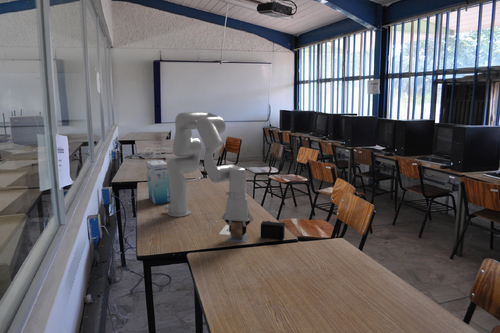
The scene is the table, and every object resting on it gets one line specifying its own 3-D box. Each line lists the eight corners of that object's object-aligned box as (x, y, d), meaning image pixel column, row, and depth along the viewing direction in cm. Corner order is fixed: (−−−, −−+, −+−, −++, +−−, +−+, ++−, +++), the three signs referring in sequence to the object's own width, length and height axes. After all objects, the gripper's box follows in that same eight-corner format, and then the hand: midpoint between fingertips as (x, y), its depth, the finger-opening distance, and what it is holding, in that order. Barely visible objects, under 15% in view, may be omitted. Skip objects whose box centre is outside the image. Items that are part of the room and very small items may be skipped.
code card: (218, 234, 176) (218, 233, 176) (225, 225, 189) (225, 224, 189) (235, 235, 175) (235, 235, 175) (241, 226, 187) (241, 225, 187)
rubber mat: (225, 241, 167) (225, 241, 167) (230, 234, 176) (230, 233, 176) (245, 243, 166) (245, 242, 166) (249, 235, 174) (249, 235, 174)
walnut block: (231, 237, 169) (230, 222, 167) (233, 233, 174) (233, 218, 172) (241, 237, 168) (241, 223, 166) (244, 233, 173) (244, 219, 171)
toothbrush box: (148, 198, 239) (146, 160, 234) (164, 196, 243) (162, 159, 239) (154, 205, 223) (152, 165, 219) (171, 203, 228) (169, 163, 223)
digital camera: (285, 236, 174) (285, 221, 173) (283, 240, 169) (283, 225, 168) (263, 234, 177) (263, 220, 175) (260, 238, 172) (260, 223, 170)
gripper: (216, 196, 165) (217, 235, 169) (254, 198, 162) (254, 238, 165) (221, 191, 172) (221, 229, 176) (257, 193, 169) (257, 232, 173)
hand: (237, 233), depth 170 cm, fingers closed on walnut block, 4 cm apart
